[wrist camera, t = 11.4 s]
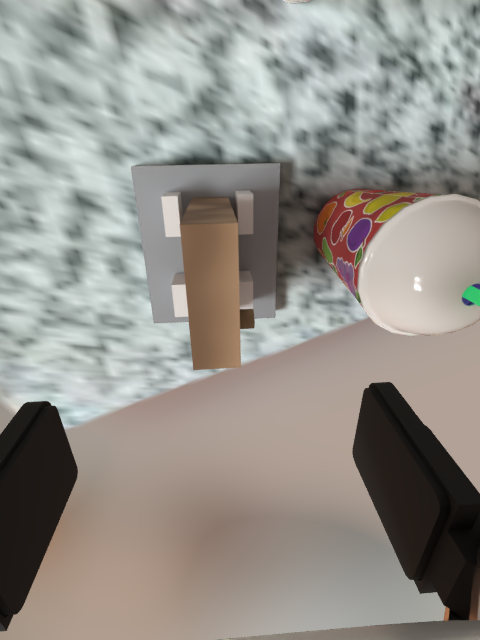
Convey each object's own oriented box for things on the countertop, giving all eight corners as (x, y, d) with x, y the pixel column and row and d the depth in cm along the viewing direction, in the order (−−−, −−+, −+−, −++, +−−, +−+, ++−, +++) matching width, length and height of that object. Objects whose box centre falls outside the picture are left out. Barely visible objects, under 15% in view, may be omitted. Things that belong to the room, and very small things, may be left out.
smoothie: (397, 246, 33) (621, 357, 15) (317, 282, 34) (437, 426, 16) (377, 161, 29) (641, 171, 11) (288, 203, 30) (401, 275, 12)
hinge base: (277, 163, 28) (287, 164, 24) (272, 311, 35) (280, 331, 31) (134, 165, 28) (121, 167, 24) (156, 316, 34) (148, 338, 30)
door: (242, 196, 28) (260, 222, 17) (243, 295, 32) (259, 366, 21) (192, 197, 28) (179, 224, 17) (199, 297, 32) (193, 369, 21)
